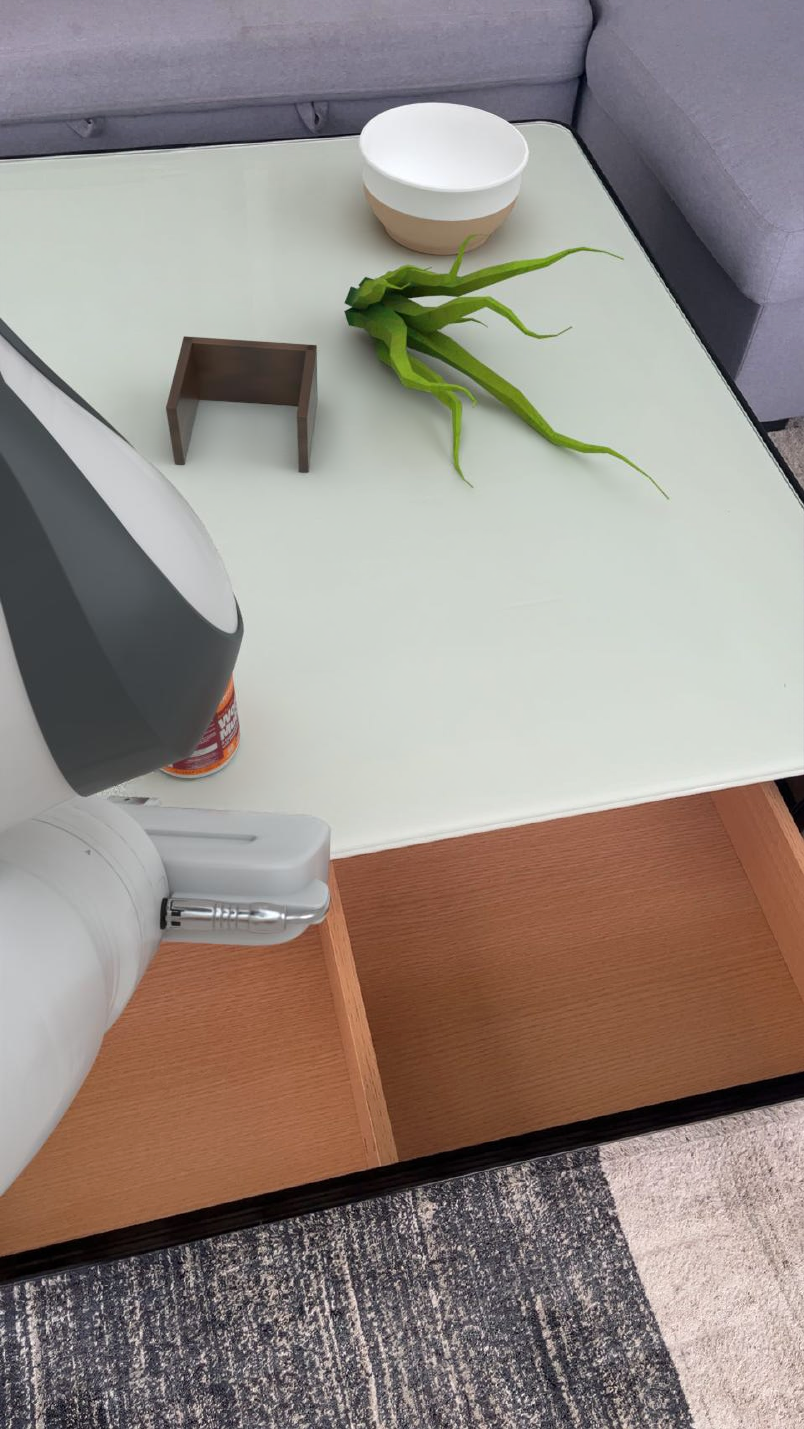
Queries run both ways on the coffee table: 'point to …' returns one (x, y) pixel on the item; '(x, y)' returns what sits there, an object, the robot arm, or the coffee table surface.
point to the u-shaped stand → (243, 384)
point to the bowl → (441, 174)
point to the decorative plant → (416, 327)
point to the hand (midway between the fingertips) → (131, 812)
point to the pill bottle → (213, 742)
